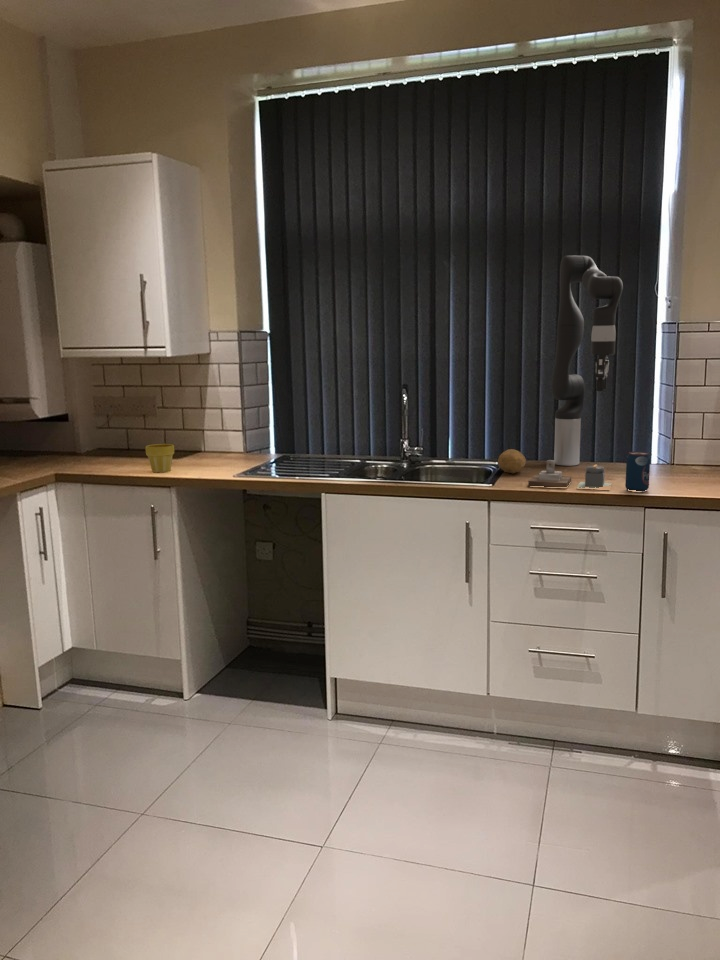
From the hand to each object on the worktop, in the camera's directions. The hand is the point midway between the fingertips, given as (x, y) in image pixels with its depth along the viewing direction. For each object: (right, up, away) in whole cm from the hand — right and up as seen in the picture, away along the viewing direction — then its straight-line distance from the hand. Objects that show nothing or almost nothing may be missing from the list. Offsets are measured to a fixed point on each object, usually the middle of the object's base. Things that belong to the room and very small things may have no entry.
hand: (601, 390), depth 265 cm
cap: (-4, -31, -5) cm, 32 cm away
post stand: (-17, -31, 0) cm, 35 cm away
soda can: (+8, -33, -12) cm, 36 cm away
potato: (-25, -27, +22) cm, 43 cm away
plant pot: (-153, -26, +38) cm, 160 cm away
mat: (-4, -32, -5) cm, 32 cm away
